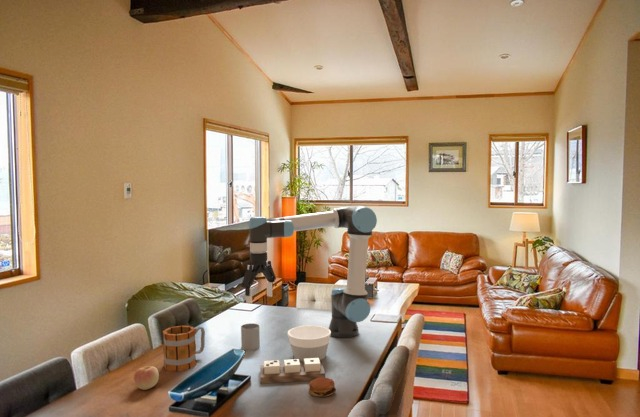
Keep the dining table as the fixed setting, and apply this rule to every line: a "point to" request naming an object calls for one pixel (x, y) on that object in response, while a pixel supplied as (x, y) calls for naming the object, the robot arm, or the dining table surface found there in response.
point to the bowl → (309, 341)
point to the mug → (181, 347)
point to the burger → (322, 387)
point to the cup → (250, 337)
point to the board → (291, 375)
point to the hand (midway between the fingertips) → (259, 299)
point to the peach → (146, 377)
